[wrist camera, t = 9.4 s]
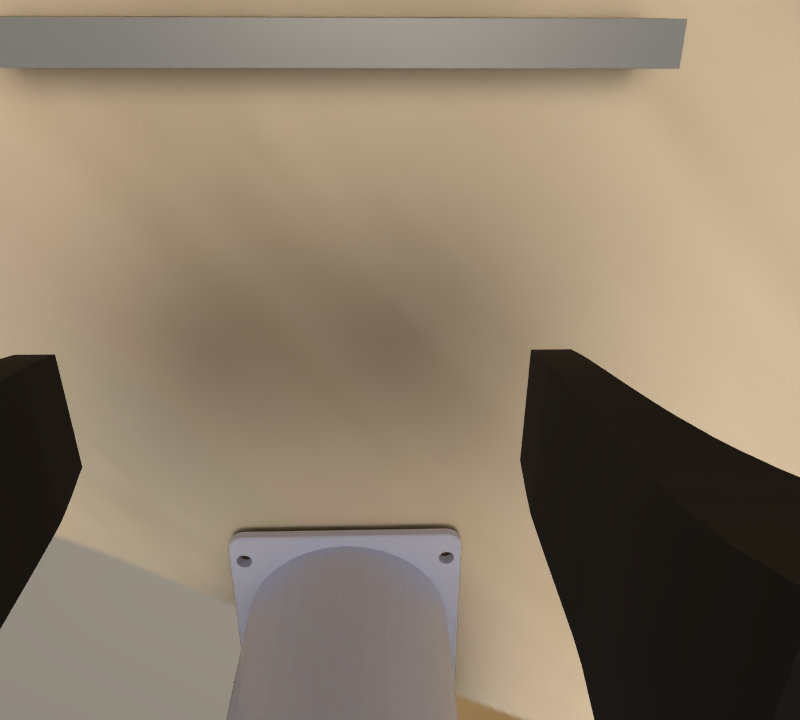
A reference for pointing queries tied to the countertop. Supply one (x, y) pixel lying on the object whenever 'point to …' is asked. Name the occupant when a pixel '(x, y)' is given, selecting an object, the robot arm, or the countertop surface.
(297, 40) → the low fence
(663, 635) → the robot arm
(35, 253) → the countertop surface
